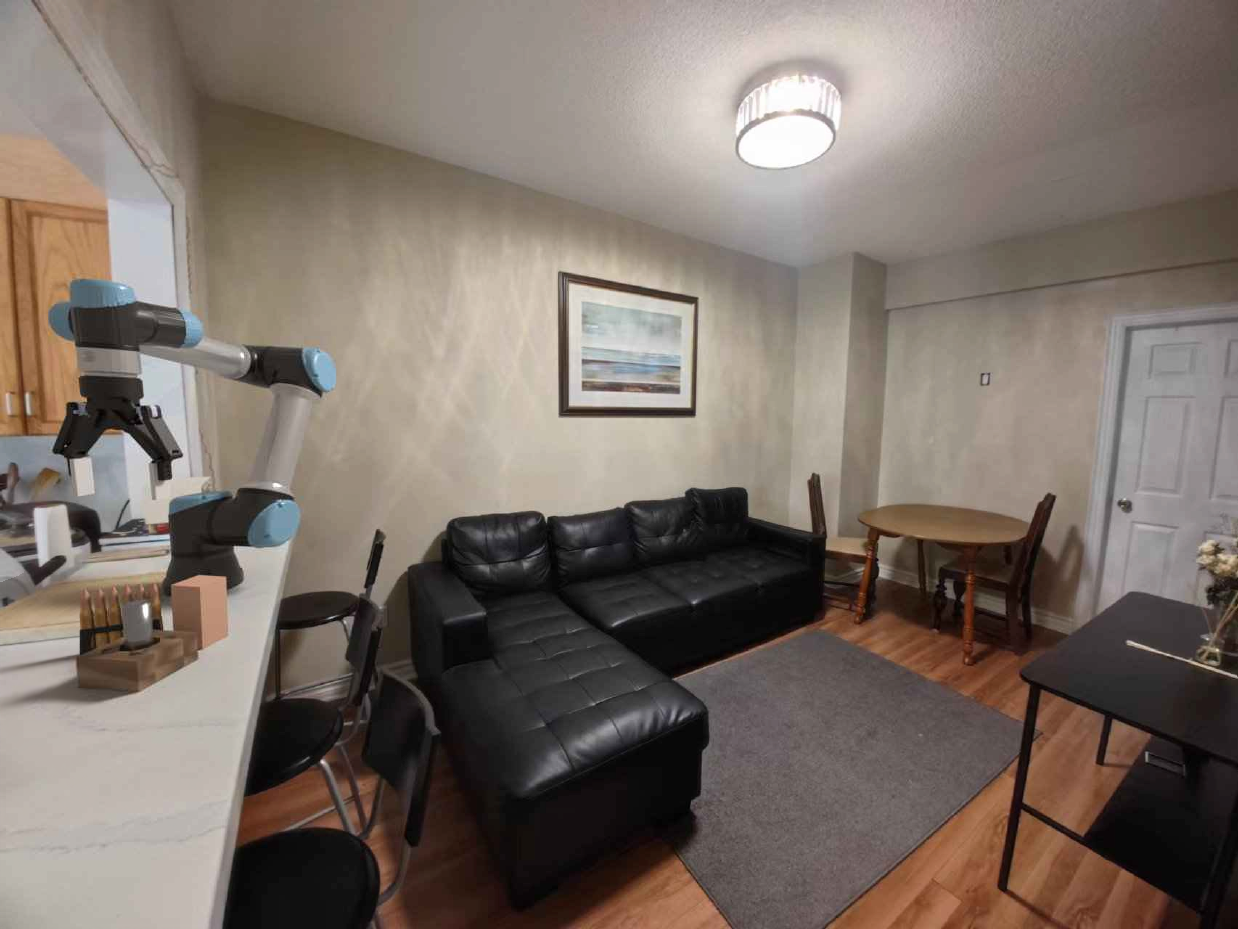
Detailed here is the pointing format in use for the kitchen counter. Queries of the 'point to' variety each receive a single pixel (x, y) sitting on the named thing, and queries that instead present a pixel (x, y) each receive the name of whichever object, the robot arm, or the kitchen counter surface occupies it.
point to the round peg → (137, 625)
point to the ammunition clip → (111, 616)
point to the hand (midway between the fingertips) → (123, 496)
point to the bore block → (136, 662)
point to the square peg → (201, 608)
